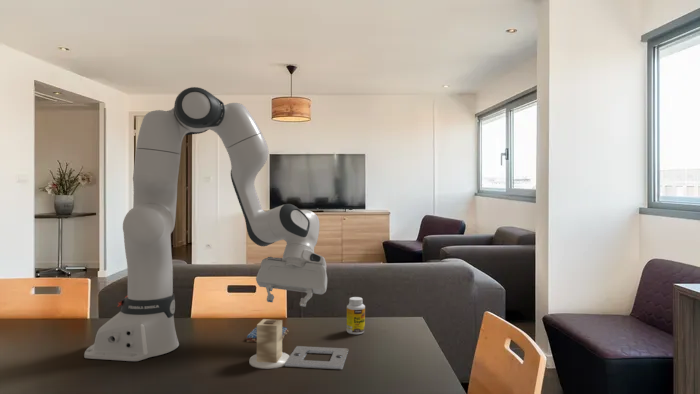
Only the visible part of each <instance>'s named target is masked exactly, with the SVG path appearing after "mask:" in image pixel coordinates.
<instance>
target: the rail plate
mask: <svg viewBox="0 0 700 394" xmlns="http://www.w3.org/2000/svg"><path fill="white" fill-rule="evenodd" d="M348 353H349V348H347V347H346V348H345V347H344V348H343V347H327V346H326V347H324V346H323V347H321V346H305V345H304V346H303V345H296V347H294V349H293V351H292V352H291V353H290V354H289V358H288V359H287V361H286V362H285V365H284V367H286V368H287V367H288V368H289V367H290V368H306V369H307V368H308V369H328V370H343V369H344V365H345V362H346V359H347V357H348ZM307 354H316V355H317V354H321V355H323V354H324V355H331V357H330V360H329V361H328V360H311V359H310V360H308V359H305V358H306V356H307Z"/></svg>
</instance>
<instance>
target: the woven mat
mask: <svg viewBox="0 0 700 394" xmlns="http://www.w3.org/2000/svg"><path fill="white" fill-rule="evenodd" d="M288 333H290V332H289V330H288V327H285V326H282V341H283V340H284V339H285V337H286V335H288ZM246 342H250V343H251V342H255V343H257V326H256V327H254V329H252V330H251V331H250V332H249V333H248V334H247V336H246Z"/></svg>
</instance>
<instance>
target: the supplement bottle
mask: <svg viewBox="0 0 700 394" xmlns="http://www.w3.org/2000/svg"><path fill="white" fill-rule="evenodd" d="M363 301H364V300H363V298H362V297H360V296H352V297H349V299H348V302H349V303H348V304H347V305H346V332H347V333H348V334H349V335H361V334H363V333H365V330H366V329H365V328H366V305H365V304H364V303H363Z"/></svg>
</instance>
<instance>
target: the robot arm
mask: <svg viewBox="0 0 700 394" xmlns="http://www.w3.org/2000/svg"><path fill="white" fill-rule="evenodd" d="M209 130H210V131H213V132H214V133H216V134H217V135H218V137H219V138H220V139H221V141H222V144H223V146H224V148H225V149H226V152H227V153H228V154H227V155H228V157H229V161H230V167H231V170H230V179H231V182H232V185H233V186H232V187H233V189H234V193H235V195H236V198H237V201H238V203H239V206H240V208H241V211H242V214H243V217H244V221H245V228H246V231H247V235H248V237H249V239H250V240H251V241H252V242H253V243H254V245H255V244H256V245H257V246H260V247H267V246H270V245H272V244H275V243H277V242H280V241H283V240H284V241H285V242H286V245H285V247H284V252H283V255H282V257H273V256H267V257H266V258H264V259H262V261H261V263H260V267H259V269H258V271H257V272H258V273H257V274H256V277H255V281H256V284H257V285H258V287H260V288H265V289H266V292H267V296H266V302H267V303H274V298H275V296H274V294H272V293H271V292H273V289H276V290H284V291H291V292H300V293H306V295H305V296H304V297H301V298H300V301H299V306H300V307H305V308H306V307H307V302H308V301H309V300H310V299H311V298H312V297H313V294H316V295H324V294H325V293H326V292H327V288H328V275H327V274H328V273H327V262H326V261H327V260H326V259H325V257H324V256H322V255H320V254H317V253H316V252H315V248H316V245H317V244H318V240H319V236H320V228H321V227H320V225H321V224H320V219H319V216H318V215H317V214H316V213H315V212H313V211H311V210H308V209H300V208H298V207H297V206H295V205H294V204H291V203H286V204H285V203H284V204H282V205H279V206H276V207H274V208H272V209H269V210H266V211H265V210H264V209H263V207H262V204H261V202H260V199H259V196H258V193H257V190H256V188H255V181H256V177H257V176H258V173H259V172H260V171H261V170H262V169H263V167H264V166H265V164H266V163H267V160H268V158H269V154H270V153H269V147H268V144H267V141H266V138H265V136H264V135H263V133H262V131H261V129H260V127H259V125H258V123H257V122H256V120H255V119H254V117H253V115H252V114H251V112H250V111H249V110H248V108H247V107H246V106H245V105H244V104H242V103H238V102H230V103H227V104H224V102H223V101H222V100H221V99H219V98H218V97H216V96H215V95H214V94H212V93H211V92H209V91H208V90H206V89H204V88H202V87H196V86H191V87H188V88H185V89H184V90H182V91H180V92H179V93H178V94H177V96H176V98H175V101H174V106H173V108H172V109H170V110H162V109H161V110H160V109H157V110H151V111H148V112H147V113H146V114H145V115H144V117H143V118H142V121H141V124H140V127H139V132H138V136H137V141H136V146H135V148H136V149H135V154H134V155H135V157H134V165H133V175H132V182H133V183H132V184H133V206H132V208H131V209H130V210H128V212H127V213H126V214H125V216H124V218H123V222H122V233H123V241H124V251H125V257H126V259H125V260H126V266H127V267H126V268H127V295H126V296H125V297H124V298H122V299H121V300H120V301H118V302H117V304H118V305H117V307H118V308H120V311H119V312H118V313H117V314H115V315H114V316H113V317H111V318H110V319H109V320H108V321H107V322H105V323H104V324H102V326H100V327H99V328H98V330H97V332H96V335H95V339H94V343H93V344H90V346H88V347H87V348H86V350H85V351H84V354H83V356H84V358H85V359H92V360H107V361H108V360H111V361H124V362H125V361H126V362H139V361H142V360H146V359H148V358H152V357H158V356H161V355H164V354H167V353H170V352H172V351H175V350H176V349H177V348H178V347H179V346H180V343H179V342H180V341H179V339H178V336H177V332H176V326H175V317H174V314H175V310H176V301H175V293H173V292H174V288H173V287H174V285H173V282H174V280H173V279H174V268H173V267H174V265H173V257H172V241H171V239H172V238H171V236H172V235H171V234H172V233H173V231H174V229H175V226H176V225H175V224H176V218H177V217H176V216H177V201H178V200H177V199H178V180H179V172H180V163H181V154H182V145H183V140H184V137H185V136H190V135H199V134H203V133H206V132H207V131H209Z"/></svg>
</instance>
